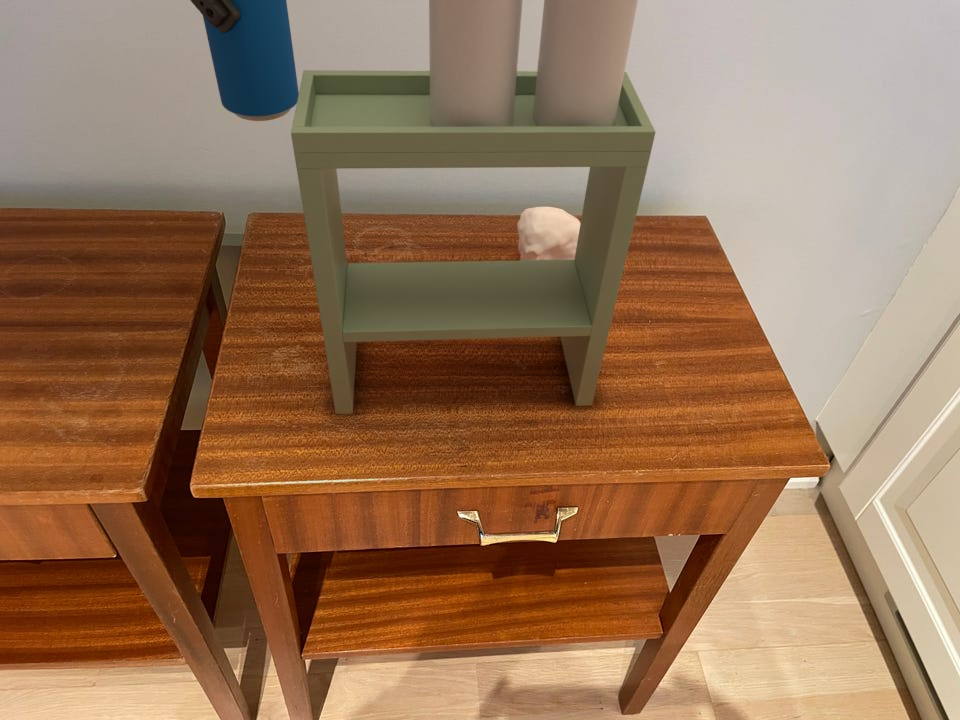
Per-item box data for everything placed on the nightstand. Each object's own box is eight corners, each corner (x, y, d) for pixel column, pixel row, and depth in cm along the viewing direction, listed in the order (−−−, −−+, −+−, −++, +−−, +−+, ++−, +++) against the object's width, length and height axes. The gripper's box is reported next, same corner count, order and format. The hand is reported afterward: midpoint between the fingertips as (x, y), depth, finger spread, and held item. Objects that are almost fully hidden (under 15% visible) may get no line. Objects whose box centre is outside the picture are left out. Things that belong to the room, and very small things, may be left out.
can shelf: (296, 169, 49) (262, -44, 40) (308, 104, 56) (281, -93, 46) (647, 166, 51) (695, -36, 42) (620, 104, 58) (655, -84, 48)
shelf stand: (335, 414, 68) (296, 169, 49) (340, 345, 74) (308, 104, 56) (591, 405, 70) (647, 166, 51) (575, 338, 76) (620, 104, 58)
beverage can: (314, 111, 63) (296, -41, 54) (246, 133, 60) (216, -24, 51) (275, 83, 66) (253, -64, 57) (209, 103, 63) (174, -50, 54)
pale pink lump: (518, 193, 79) (622, 198, 81) (505, 255, 85) (603, 259, 87) (528, 227, 75) (638, 232, 77) (514, 290, 81) (616, 293, 83)
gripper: (23, -232, 44) (225, 12, 49) (183, -253, 53) (337, -47, 59) (-5, -140, 49) (180, 71, 54) (145, -175, 58) (290, 8, 64)
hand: (261, 9), depth 56 cm, fingers closed on beverage can, 6 cm apart
